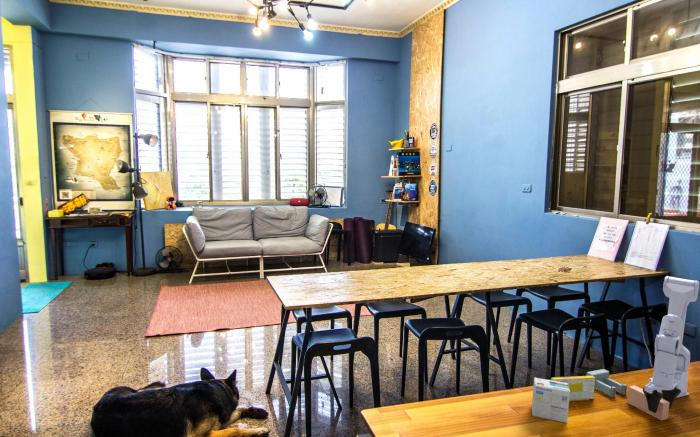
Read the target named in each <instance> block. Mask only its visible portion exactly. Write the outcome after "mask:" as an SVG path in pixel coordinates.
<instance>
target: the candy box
mask: <svg viewBox="0 0 700 437" xmlns="http://www.w3.org/2000/svg"><path fill="white" fill-rule="evenodd" d="M550 380H552V381H558V382H565V383H568V387H569V390H570V397H569V402H573V401H575V402H576V401H590V400H589V399H594V400H595V377H594V376H587V375H581V376H555V377H551V379H550Z"/></svg>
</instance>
